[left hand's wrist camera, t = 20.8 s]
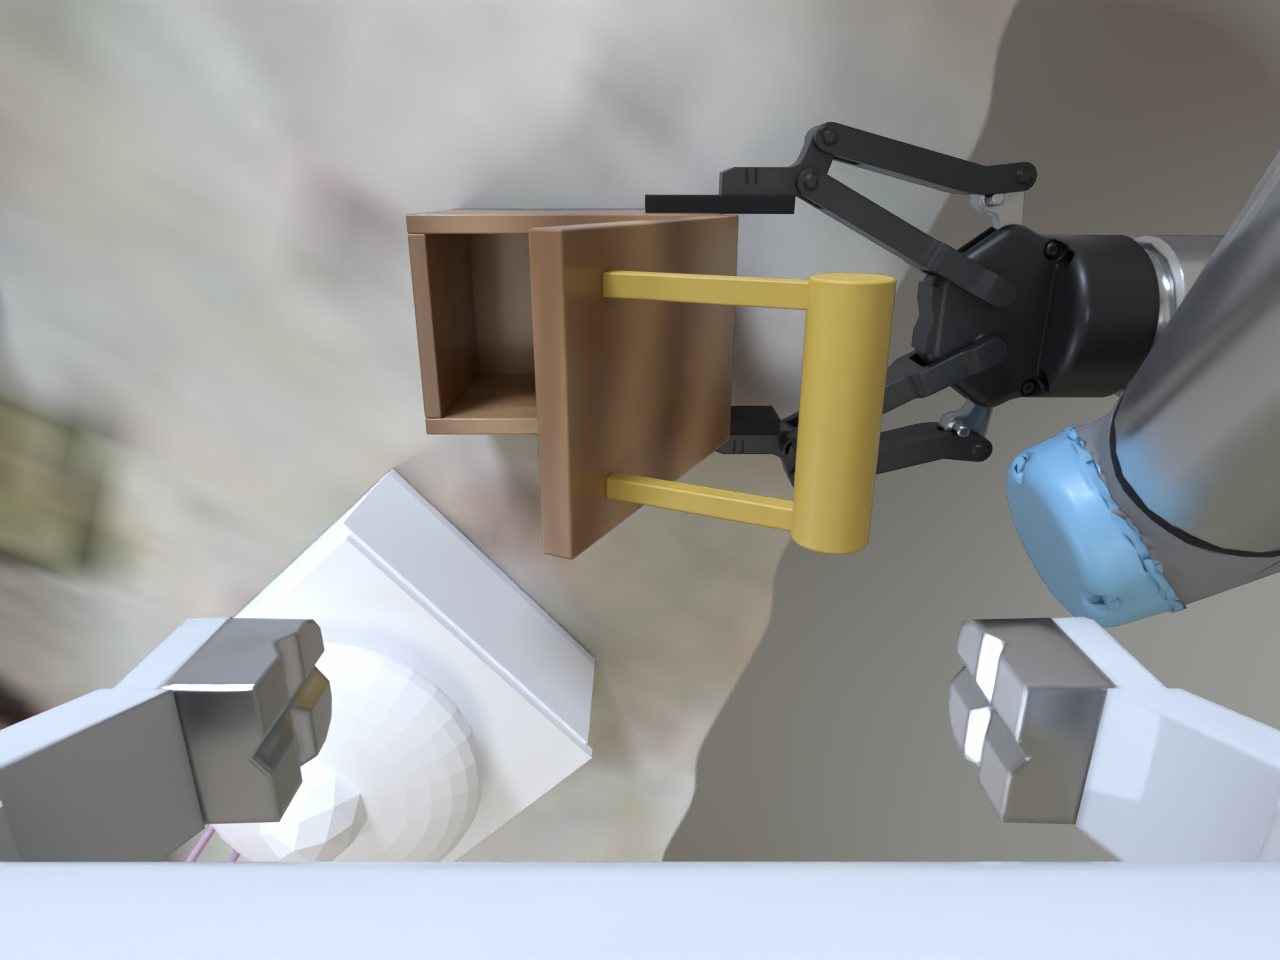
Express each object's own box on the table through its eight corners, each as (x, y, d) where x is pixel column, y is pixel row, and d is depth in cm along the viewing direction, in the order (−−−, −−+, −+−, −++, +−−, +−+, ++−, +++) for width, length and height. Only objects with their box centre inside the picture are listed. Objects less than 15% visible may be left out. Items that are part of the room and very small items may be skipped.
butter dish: (391, 467, 47) (275, 599, 32) (601, 664, 51) (585, 859, 36) (205, 642, 51) (24, 831, 36) (415, 810, 55) (332, 1040, 40)
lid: (541, 554, 24) (844, 621, 20) (526, 228, 21) (882, 236, 17) (707, 436, 36) (920, 465, 32) (714, 214, 32) (951, 217, 29)
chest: (469, 384, 45) (426, 435, 36) (456, 209, 42) (404, 214, 33) (701, 384, 45) (717, 434, 36) (706, 208, 42) (725, 214, 33)
